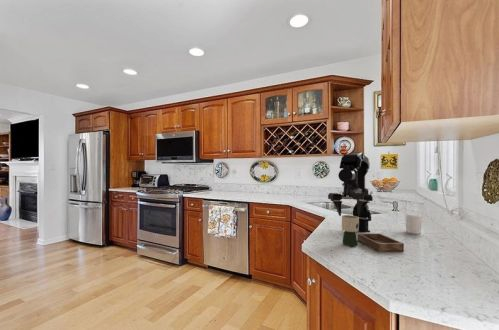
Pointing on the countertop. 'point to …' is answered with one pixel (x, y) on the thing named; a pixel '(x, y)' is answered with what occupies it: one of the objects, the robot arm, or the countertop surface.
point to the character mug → (350, 229)
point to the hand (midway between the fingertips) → (349, 216)
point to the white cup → (413, 223)
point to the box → (380, 242)
